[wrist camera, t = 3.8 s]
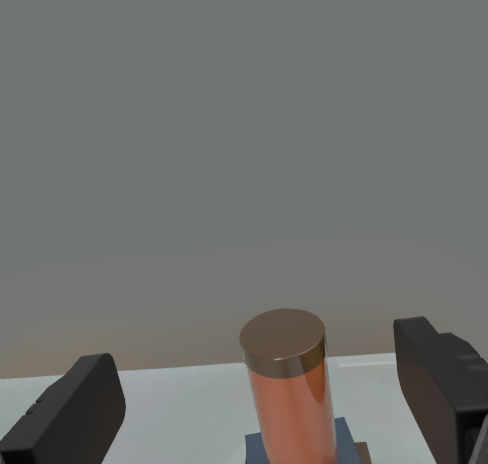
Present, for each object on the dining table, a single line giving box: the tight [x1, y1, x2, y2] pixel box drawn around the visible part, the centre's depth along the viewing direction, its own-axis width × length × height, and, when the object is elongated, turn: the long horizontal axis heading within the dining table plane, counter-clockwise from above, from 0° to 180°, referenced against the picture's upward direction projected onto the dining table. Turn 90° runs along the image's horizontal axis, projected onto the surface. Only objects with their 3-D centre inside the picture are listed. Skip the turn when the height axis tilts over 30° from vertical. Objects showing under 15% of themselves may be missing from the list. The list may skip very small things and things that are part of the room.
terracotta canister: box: [240, 308, 340, 464], centre depth 26 cm, size 5×5×11 cm
